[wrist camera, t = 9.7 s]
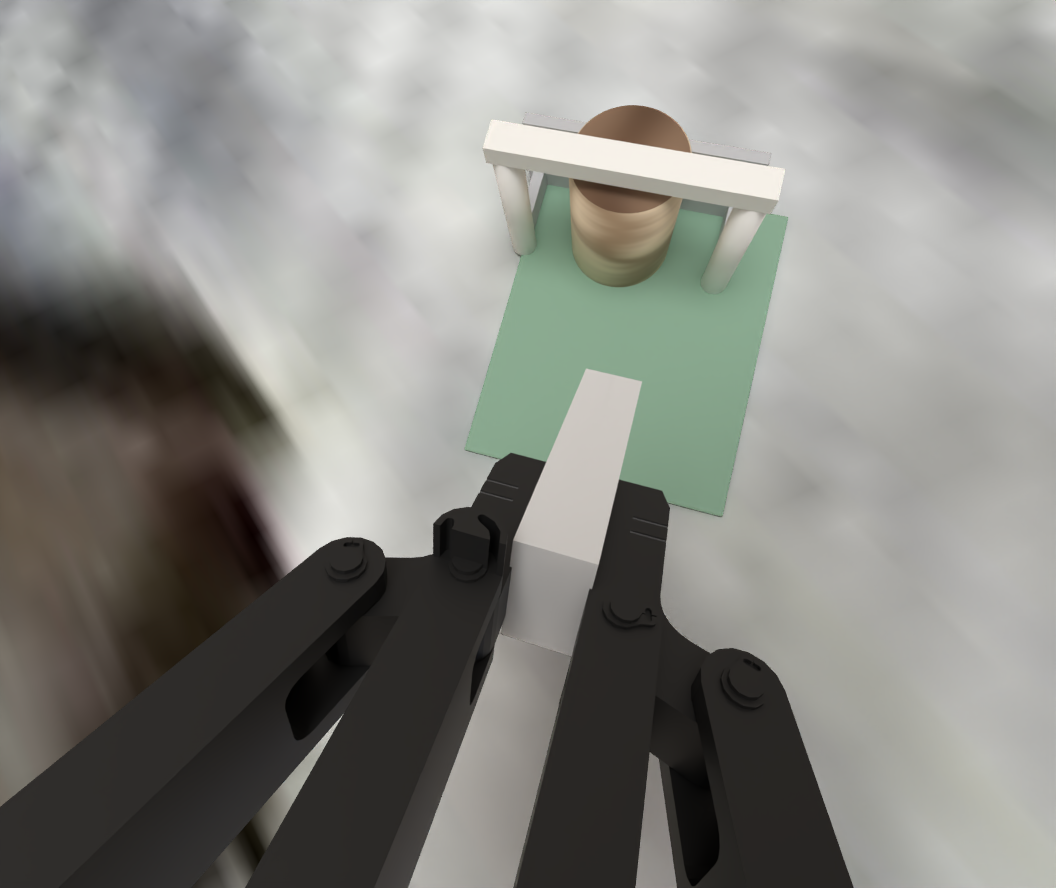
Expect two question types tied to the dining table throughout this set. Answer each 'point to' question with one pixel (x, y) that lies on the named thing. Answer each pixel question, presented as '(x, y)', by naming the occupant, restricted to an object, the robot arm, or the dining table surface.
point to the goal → (633, 180)
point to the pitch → (633, 353)
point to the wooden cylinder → (624, 204)
